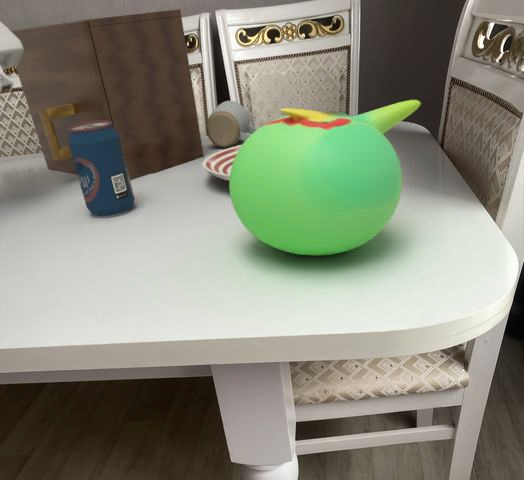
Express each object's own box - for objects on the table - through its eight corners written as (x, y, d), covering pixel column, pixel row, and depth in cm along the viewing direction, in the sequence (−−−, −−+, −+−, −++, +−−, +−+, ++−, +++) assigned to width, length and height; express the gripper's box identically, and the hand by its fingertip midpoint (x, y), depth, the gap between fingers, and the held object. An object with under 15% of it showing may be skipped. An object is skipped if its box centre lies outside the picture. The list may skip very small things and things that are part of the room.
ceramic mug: (206, 150, 105) (201, 108, 101) (216, 140, 112) (211, 101, 108) (258, 147, 103) (254, 105, 99) (265, 138, 110) (262, 98, 106)
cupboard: (127, 181, 91) (88, 19, 78) (53, 167, 107) (10, 30, 94) (203, 156, 101) (180, 9, 88) (126, 146, 117) (96, 20, 104)
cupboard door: (92, 192, 87) (46, 25, 74) (21, 176, 103) (-28, 36, 90) (126, 181, 91) (87, 20, 78) (52, 167, 107) (9, 31, 94)
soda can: (80, 215, 77) (54, 129, 71) (118, 201, 81) (97, 118, 75) (107, 222, 73) (82, 131, 67) (146, 207, 77) (126, 120, 71)
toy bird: (209, 258, 59) (185, 117, 51) (299, 211, 69) (291, 87, 61) (347, 295, 48) (344, 124, 40) (429, 232, 58) (440, 86, 50)
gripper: (-144, -6, 61) (-44, 81, 64) (-20, -7, 78) (56, 62, 80) (-151, 42, 65) (-57, 122, 68) (-32, 31, 81) (41, 96, 84)
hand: (5, 89), depth 74 cm, fingers closed
